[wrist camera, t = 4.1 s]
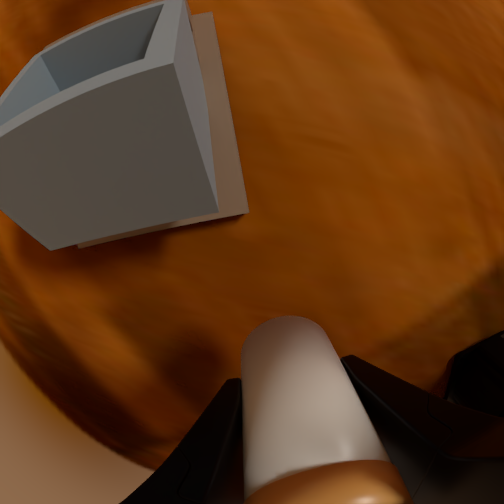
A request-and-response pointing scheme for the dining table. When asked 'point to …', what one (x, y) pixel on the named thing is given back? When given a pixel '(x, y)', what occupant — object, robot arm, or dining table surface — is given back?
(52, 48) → the leaning socket
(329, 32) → the dining table surface
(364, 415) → the orange-topped white peg
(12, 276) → the dining table surface
